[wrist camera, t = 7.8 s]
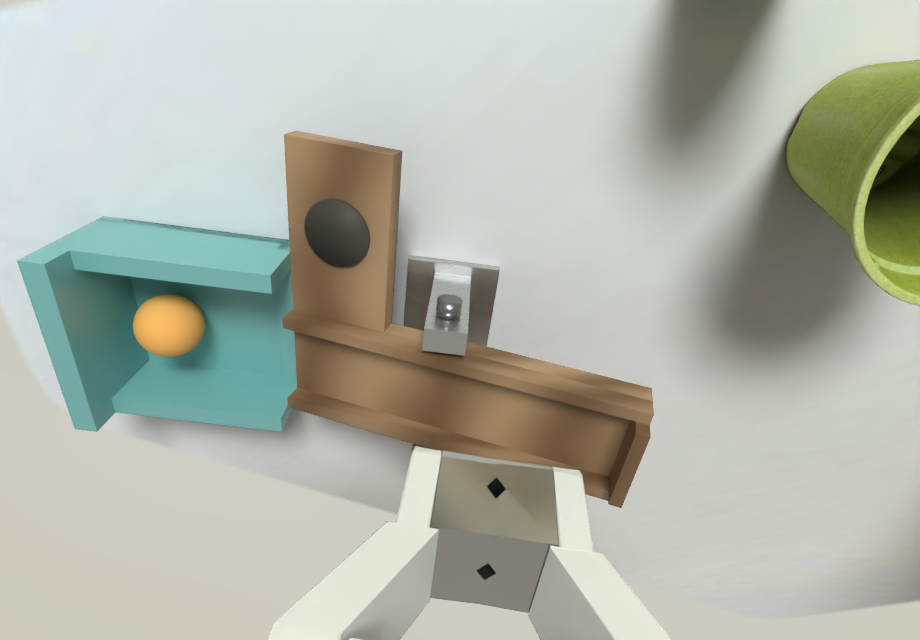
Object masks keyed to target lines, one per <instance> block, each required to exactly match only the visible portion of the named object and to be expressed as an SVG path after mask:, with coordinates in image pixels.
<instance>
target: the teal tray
mask: <svg viewBox="0 0 920 640" xmlns="http://www.w3.org/2000/svg"><path fill="white" fill-rule="evenodd" d="M17 262H18V265H19V268H20V271H21V274H22V277H23V280H24V283H25V285H26V288H27V291H28V294H29V297H30V300H31V303H32V306H33V309H34V312H35V315H36V317H37V320H38V323H39V326H40V329H41V332H42V335H43V338H44V341H45V344H46V347H47V349H48V352H49V355H50V358H51V361H52V364H53V367H54V370H55V373H56V376H57V379H58V381H59V384H60V387H61V390H62V393H63V396H64V399H65V402H66V405H67V408H68V411H69V414H70V416H71V419H72V422H73V425H74V428H75V429H80V430H88V431H96V432H97V431H98V430H99V429H100V428H101V427H102V426H103V425H104V424H105V423H106V422H107V421H108V420H109V419H110V417H111V416H112V415H113V414H114V413H115V412H117V413H126V414H134V415H143V416H151V417H160V418H168V419H177V420H185V421H194V422H202V423H211V424H219V425H228V426H236V427H245V428H253V429H262V430H270V431H279V432H282V431H283V429H284V427H285V425H286V423H287V421H288V419H289V417H290V415H291V413H292V410H293V408H290V407H288V402H287V398H288V397H289V396H290V395H291V394H292V393H293V392H294V390H295V389H296V388H297V377H296V357H295V338H294V331H292V330H288V329H284V328H283V324H282V318H283V317H284V316H285V315H286V314H287V313H289V312H290V311H291V310H292V309H293V299H292V279H291V260H290V240H284V239H276V238H268V237H260V236H252V235H245V234H237V233H229V232H221V231H213V230H205V229H197V228H189V227H181V226H174V225H166V224H158V223H150V222H142V221H134V220H126V219H118V218H111V217H101V218H99V219H97V220H96V221H94V222H92V223H90V224H88V225H86V226H84V227H82V228H80V229H78V230H76V231H74V232H72V233H70V234H68V235H66V236H64V237H62V238H60V239H58V240H56V241H55V242H53V243H51V244H49V245H47V246H45V247H43V248H41V249H39V250H37V251H35V252H33V253H31V254H29V255H27V256H25V257H23V258H21V259H19V260H17ZM164 294H174V295H180V296H183V297H185V298H187V299H189V300H191V301H192V302H194V303H195V304H196V305H197V306H198V307H199V309H200V310H201V312H202V314H203V316H204V320H205V331H204V335H203V337H202V339H201V341H200V342H199V343H198V345H197V346H196V347H195V348H193V349H192V350H191V351H189V352H187V353H185V354H183V355H179V356H174V357H163V356H158V355H155V354H153V353H151V352H149V351H147V350H146V349H144V348H143V347H142V346H141V345H140V344H139V342H138V341H137V339H136V337H135V335H134V331H133V320H134V317H135V314H136V312H137V311H138V309H139V308H140V306H141V305H142V304H144V303H145V302H146V301H147V300H149V299H151V298H153V297H156V296H159V295H164Z"/></svg>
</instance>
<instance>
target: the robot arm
mask: <svg viewBox="0 0 920 640" xmlns="http://www.w3.org/2000/svg"><path fill="white" fill-rule="evenodd" d="M430 598H436V599H444V600H453V601H460V602H468V603H476V604H483V605H488V606H494V607H499V608H504V609H510V610H515V611H522V612H527V613H529V615H528V616H529V618H530V620H531V622H532V624H533V626H534V628H535V630H536V632H537V634H538V635H539V638H540V640H671V639H670V637H669V636H668V635H667V634H666V632H665V631H664V630H663V629H662V627H661V626H660V625H659V624H658V622H657V621H656V620H655V619H654V617H653V616H652V615H651V614H650V613H649V611H648V610H647V609H646V607H645V606H644V605H643V604H642V602H641V601H640V600H639V598H638V597H637V596H636V595H635V593H634V592H633V591H632V590H631V588H630V587H629V586H628V585H627V583H626V582H625V581H624V580H623V578H622V577H621V576H620V575H619V573H618V572H617V571H616V570H615V568H614V567H613V566H612V565H611V563H610V562H609V561H608V559H607V558H606V557H605V556H604V554H602V553H596V552H594V549H593V542H592V536H591V529H590V522H589V516H588V509H587V503H586V496H585V490H584V483H583V476H582V474H581V472H580V471H579V470H572V469H565V468H558V467H550V466H543V465H536V464H529V463H521V462H514V461H507V460H499V459H490V458H484V457H478V456H472V455H466V454H461V453H455V452H449V451H443V453H442V451H440V450H434V449H428V448H423V447H417V446H415V447H414V449H413V452H412V455H411V459H410V463H409V467H408V472H407V476H406V480H405V484H404V489H403V493H402V497H401V501H400V505H399V510H398V514H397V518H396V522H389V521H387V522H386V523H385V524H383V525H382V526H381V527H380V528H379V529H378V530H377V531H376V532H375V533H373V534H372V535H371V536H370V537H369V538H368V539H367V540H366V541H365V542H363V543H362V544H361V545H360V546H359V547H358V548H357V549H356V550H355V551H354V552H352V553H351V554H350V555H349V556H348V557H347V558H346V559H345V560H344V561H342V562H341V563H340V564H339V565H338V566H337V567H336V568H335V569H334V570H332V571H331V572H330V573H329V574H328V575H327V576H326V577H325V578H324V579H323V580H321V581H320V582H319V583H318V584H317V585H316V586H315V587H314V588H312V590H310V591H309V592H308V593H307V594H306V595H305V596H304V597H303V598H301V599H300V600H299V601H298V602H297V603H296V604H295V605H294V606H293V607H291V608H290V609H289V610H288V611H287V612H286V613H285V614H284V615H283V616H281V617H280V618H279V619H278V620H277V621H276V622H275V624H274V626H273V628H272V631H271V633H270V636H269V639H268V640H400V639H401V638H402V636H403V635H404V634H405V632H406V631H407V630H408V628H409V627H410V626H411V625H412V623H413V622H414V621H415V619H416V618H417V617H418V615H419V614H420V613H421V612H422V610H423V609H424V607H425V606H426V605H427V604H428V602H429V600H430Z"/></svg>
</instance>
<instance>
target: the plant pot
mask: <svg viewBox="0 0 920 640" xmlns="http://www.w3.org/2000/svg"><path fill="white" fill-rule="evenodd" d="M787 165H788V169H789V172H790V174H791V176H792V178H793V180H794V181H795V182H796V184H797V185H798V186H799V187H800V188H801V189H802V190H803V191H804V192H805V193H806V194H807V195H808V196H809V197H810V198H811V199H812V200H814V201H815V202H816V203H817V204H818V205H819V206H820V207H821V208H822V209H824V210H825V211H826V212H827V213H828V214H829V215H830V216H831V217H832V218H833V219H834V220H835V221H836V222H837V223H838V224H839V225H840V226H841V227H842V228H843V229H844V230H845V231H846V232H847V233H848V234H849V236H850V239H851V243H852V248H853V251H854V253H855V256H856V258H857V260H858V262H859V264H860V266H861V267H862V269H863V270H864V272H865V273H866V274H867V275H868V277H869V278H870V279H871V280H872V281H873V282H874V283H875V284H876V285H877V286H879V287H880V288H881V289H882V290H884V291H885V292H887V293H888V294H890V295H891V296H893V297H895V298H897V299H899V300H902V301H904V302H907V303H910V304H914V305H918V306H920V60H914V61H903V62H892V63H882V64H874V65H868V66H864V67H860V68H857V69H854V70H851V71H849V72H847V73H845V74H843V75H841V76H839V77H837V78H836V79H834V80H833V81H831V82H830V83H828V84H827V85H826V86H824V87H823V88H822V89H821V90H820V91H818V92H817V93H816V94H815V95H814V96H813V97H812V98H811V99H810V100H809V102H808V103H807V104H806V106H805V107H804V108H803V111H802V113H801V116H800V118H799V120H798V123H797V124H796V126H795V128H794V130H793V133H792V135H791V137H790V138H789V140H788V144H787ZM883 166H885V169H884V171H883V172H882V173H880V174H879V175H878V176H876V174H877V172H878V170H879V169H880V168H881V167H883ZM875 176H876V177H875Z"/></svg>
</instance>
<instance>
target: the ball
mask: <svg viewBox="0 0 920 640" xmlns="http://www.w3.org/2000/svg"><path fill="white" fill-rule="evenodd" d="M133 331H134V335H135V337H136V339H137V341H138V342H139V344H140V345H141V346H142V347H143V348H144V349H146V350H147V351H149V352H151V353H153V354H155V355H158V356H163V357H174V356H179V355H183V354H185V353H187V352H189V351H191V350H192V349H193V348H195V347H196V346H197V345H198V343H199V342H200V341H201V339H202V337H203V335H204V331H205V320H204V316H203V314H202V312H201V310H200V309H199V307H198V306H197V305H196V304H195V303H194V302H192V301H191V300H189V299H187V298H185V297H183V296H180V295H174V294H164V295H159V296H156V297H153V298H151V299H149V300H147V301H146V302H145V303H144V304H142V305H141V306H140V308H139V309H138V311H137V312H136V314H135V317H134V320H133Z"/></svg>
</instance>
